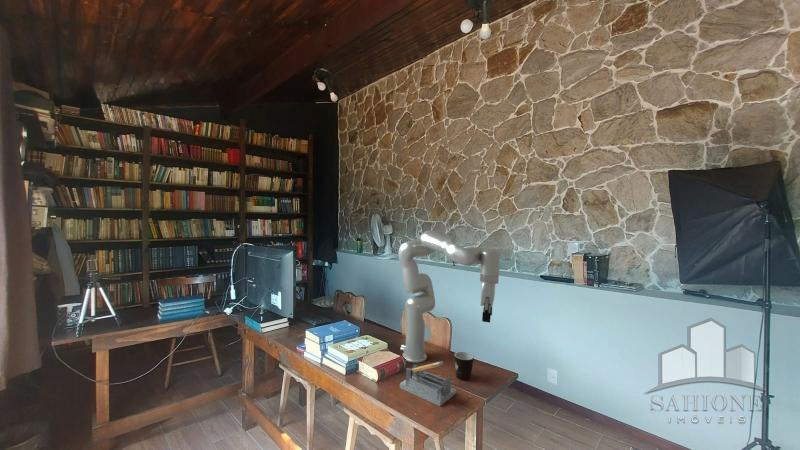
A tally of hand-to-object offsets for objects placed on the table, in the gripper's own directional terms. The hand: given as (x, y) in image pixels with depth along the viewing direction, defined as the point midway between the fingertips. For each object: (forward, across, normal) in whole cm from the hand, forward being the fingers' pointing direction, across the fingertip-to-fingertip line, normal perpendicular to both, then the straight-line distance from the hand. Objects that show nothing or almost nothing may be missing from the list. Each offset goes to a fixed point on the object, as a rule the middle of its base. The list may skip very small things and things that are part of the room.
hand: (487, 318), depth 142 cm
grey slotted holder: (+30, +12, -22) cm, 39 cm away
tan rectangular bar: (+21, +12, -23) cm, 33 cm away
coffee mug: (+30, -6, -10) cm, 33 cm away
